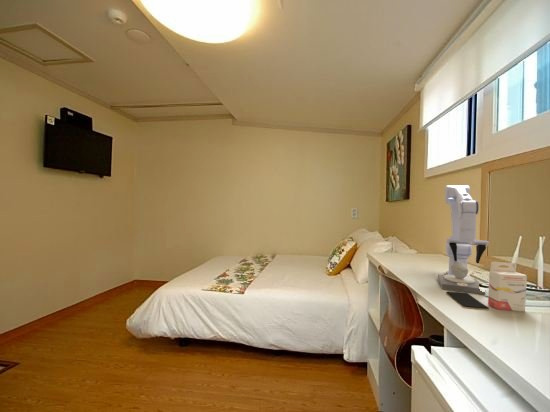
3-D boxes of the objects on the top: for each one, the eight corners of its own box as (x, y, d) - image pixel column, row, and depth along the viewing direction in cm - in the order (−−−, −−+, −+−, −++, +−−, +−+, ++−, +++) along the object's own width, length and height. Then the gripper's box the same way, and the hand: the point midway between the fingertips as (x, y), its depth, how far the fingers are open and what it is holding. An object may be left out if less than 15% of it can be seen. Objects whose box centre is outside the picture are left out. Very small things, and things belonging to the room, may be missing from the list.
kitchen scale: (437, 278, 125) (438, 272, 125) (475, 283, 119) (475, 276, 119) (442, 288, 111) (442, 281, 111) (485, 294, 105) (485, 287, 105)
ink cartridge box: (497, 310, 90) (499, 264, 89) (487, 304, 95) (488, 261, 94) (526, 311, 89) (528, 265, 89) (514, 305, 94) (516, 262, 94)
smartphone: (464, 306, 91) (445, 291, 105) (464, 309, 91) (445, 294, 105) (489, 308, 89) (467, 292, 104) (489, 311, 89) (467, 295, 104)
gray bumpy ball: (462, 276, 120) (463, 260, 120) (471, 281, 113) (472, 263, 113) (447, 275, 120) (447, 259, 120) (455, 280, 113) (456, 263, 113)
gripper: (448, 229, 115) (447, 261, 115) (491, 231, 109) (490, 265, 109) (446, 227, 122) (445, 258, 122) (487, 229, 115) (485, 262, 115)
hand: (466, 261), depth 116 cm, fingers open, 7 cm apart
